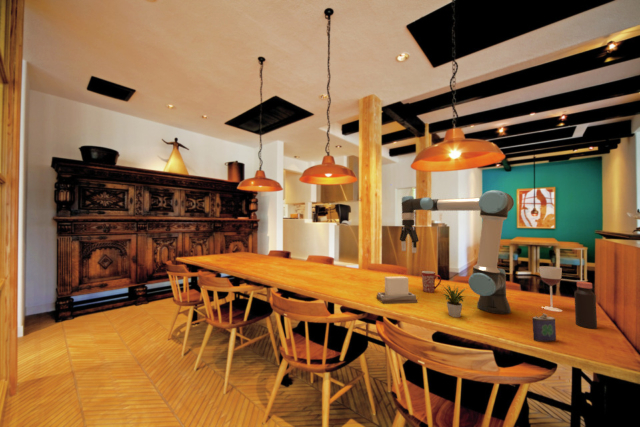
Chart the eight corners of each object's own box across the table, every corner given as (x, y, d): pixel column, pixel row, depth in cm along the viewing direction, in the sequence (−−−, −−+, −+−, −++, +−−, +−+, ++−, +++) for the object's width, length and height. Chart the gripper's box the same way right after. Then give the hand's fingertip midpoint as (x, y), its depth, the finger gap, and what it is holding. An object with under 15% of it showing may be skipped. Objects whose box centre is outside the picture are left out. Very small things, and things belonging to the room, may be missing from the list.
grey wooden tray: (417, 302, 148) (417, 296, 148) (383, 303, 145) (383, 297, 145) (408, 297, 160) (408, 291, 160) (376, 297, 157) (376, 291, 157)
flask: (551, 338, 102) (550, 312, 102) (559, 341, 99) (558, 314, 99) (531, 339, 101) (530, 312, 101) (538, 342, 98) (537, 315, 99)
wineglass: (567, 310, 136) (565, 268, 137) (556, 312, 132) (555, 269, 134) (547, 305, 145) (545, 265, 146) (536, 307, 141) (535, 266, 142)
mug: (421, 292, 171) (421, 272, 172) (421, 289, 180) (421, 270, 180) (441, 294, 166) (441, 274, 167) (441, 291, 174) (440, 272, 175)
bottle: (599, 327, 113) (597, 283, 114) (594, 330, 110) (592, 284, 111) (578, 322, 119) (576, 280, 120) (573, 324, 116) (571, 281, 117)
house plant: (432, 314, 128) (431, 283, 128) (441, 308, 137) (441, 279, 138) (463, 322, 118) (462, 288, 118) (470, 315, 127) (470, 283, 128)
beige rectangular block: (387, 298, 149) (387, 278, 150) (384, 296, 154) (384, 276, 155) (408, 297, 151) (408, 278, 151) (404, 295, 156) (404, 276, 156)
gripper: (423, 218, 152) (424, 253, 151) (404, 220, 177) (404, 250, 175) (412, 218, 151) (413, 253, 149) (394, 220, 175) (394, 250, 174)
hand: (408, 251), depth 162 cm, fingers open, 13 cm apart
